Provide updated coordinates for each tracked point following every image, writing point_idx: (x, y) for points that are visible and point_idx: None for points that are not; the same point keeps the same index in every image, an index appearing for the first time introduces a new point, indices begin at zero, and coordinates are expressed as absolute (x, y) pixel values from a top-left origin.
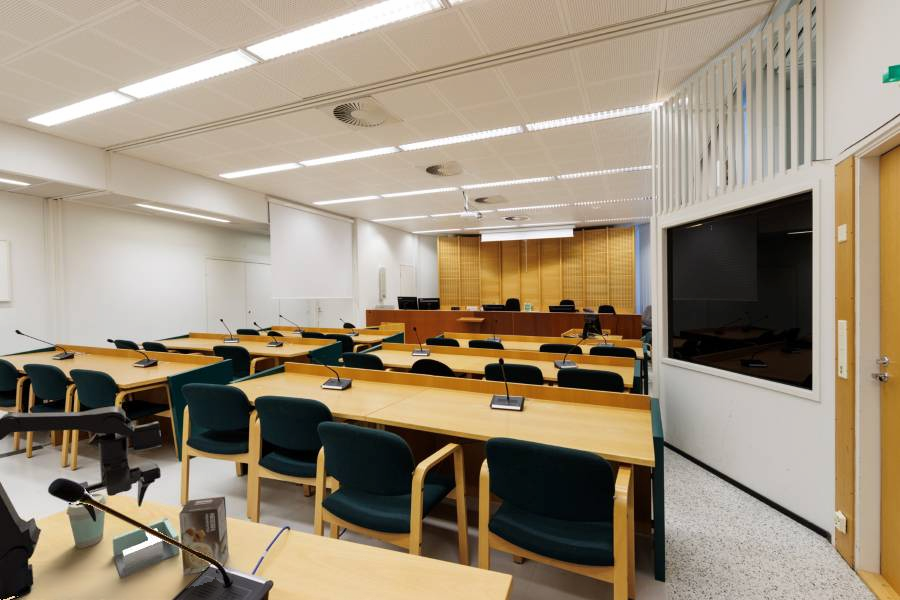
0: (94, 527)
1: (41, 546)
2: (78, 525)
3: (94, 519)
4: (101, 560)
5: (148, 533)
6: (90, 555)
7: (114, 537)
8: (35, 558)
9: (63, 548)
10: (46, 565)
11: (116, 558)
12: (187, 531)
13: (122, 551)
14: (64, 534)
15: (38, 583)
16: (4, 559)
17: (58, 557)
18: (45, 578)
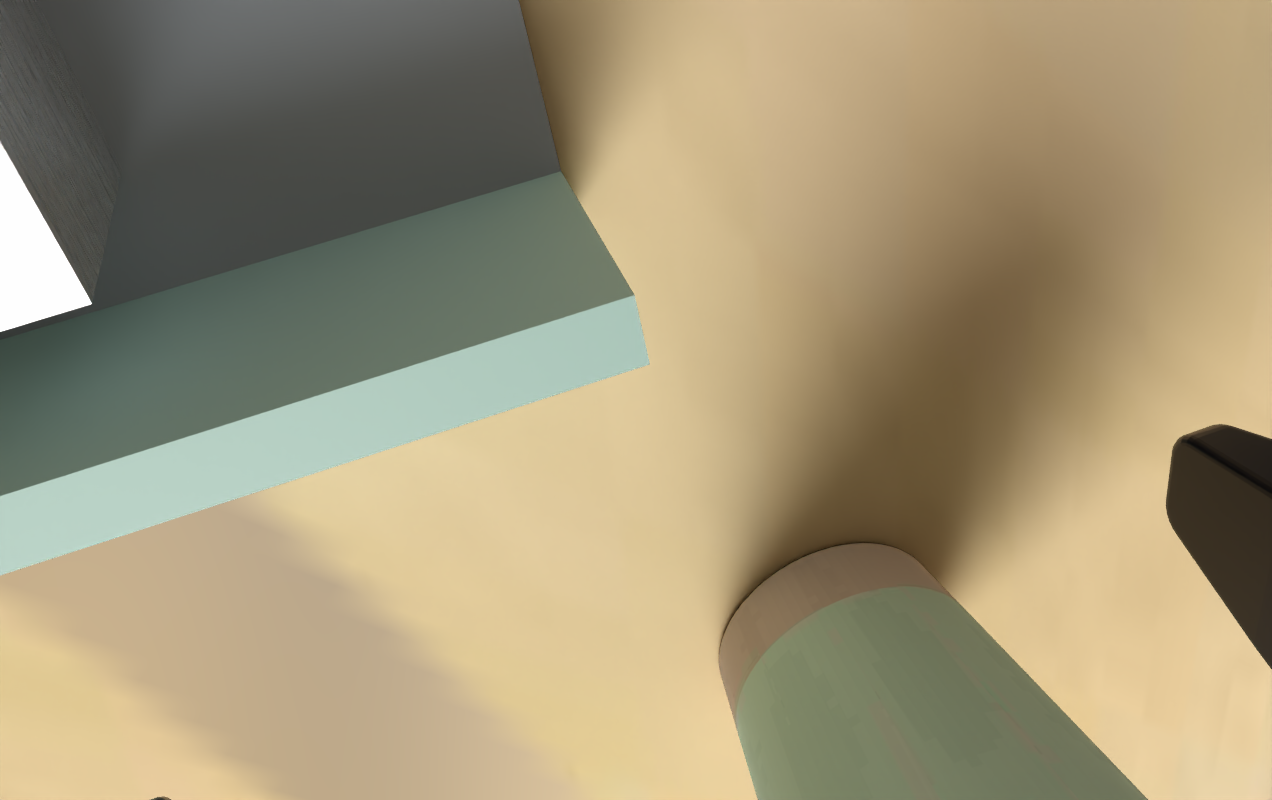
0: (867, 712)
1: (1142, 679)
2: (1067, 741)
3: (1269, 456)
4: (700, 187)
5: (3, 231)
6: (814, 365)
7: (621, 357)
8: None
9: (1017, 594)
10: (1154, 372)
11: (524, 97)
12: None
13: (467, 211)
14: None
15: (1256, 50)
16: None
17: (1062, 464)
18: (1195, 118)
